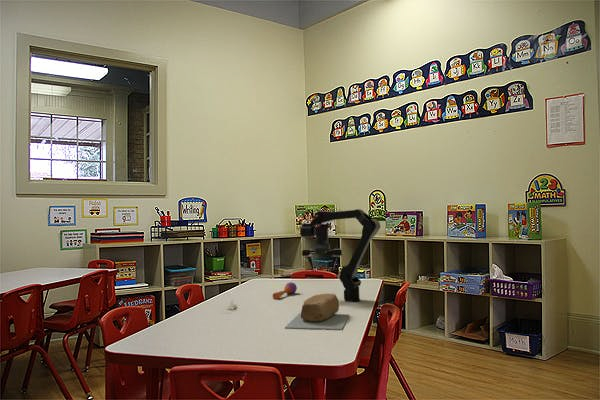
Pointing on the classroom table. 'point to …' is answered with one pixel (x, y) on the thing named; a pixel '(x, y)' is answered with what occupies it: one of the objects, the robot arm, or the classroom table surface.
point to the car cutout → (232, 305)
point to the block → (319, 307)
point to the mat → (319, 323)
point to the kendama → (286, 290)
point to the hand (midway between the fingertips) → (322, 270)
